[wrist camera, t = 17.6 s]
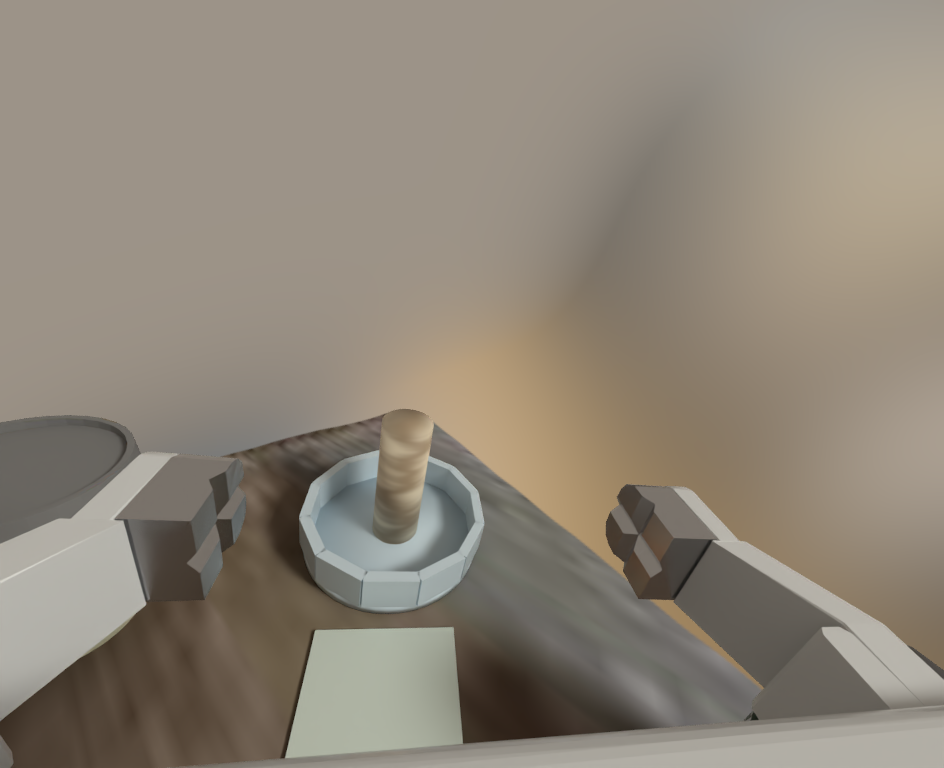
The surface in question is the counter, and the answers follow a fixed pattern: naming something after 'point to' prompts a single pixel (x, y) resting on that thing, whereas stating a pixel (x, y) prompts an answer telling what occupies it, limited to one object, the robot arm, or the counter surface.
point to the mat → (377, 692)
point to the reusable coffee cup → (57, 470)
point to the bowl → (380, 564)
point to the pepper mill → (401, 474)
